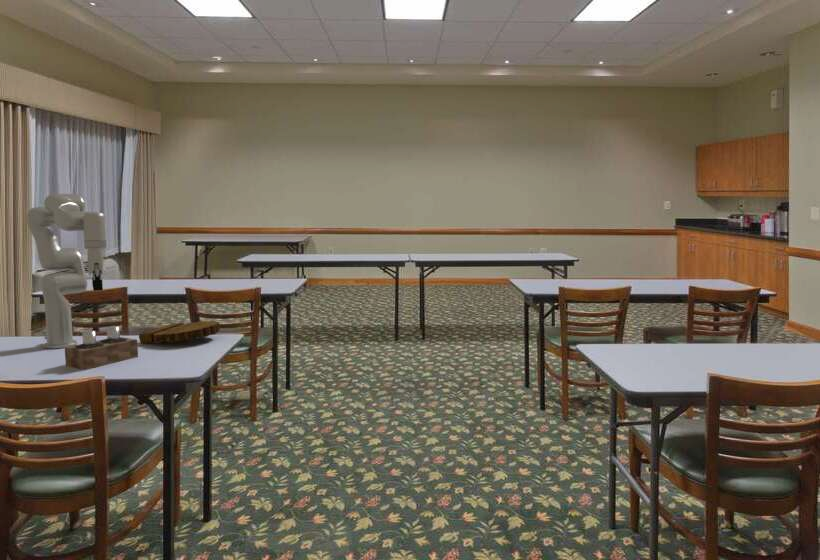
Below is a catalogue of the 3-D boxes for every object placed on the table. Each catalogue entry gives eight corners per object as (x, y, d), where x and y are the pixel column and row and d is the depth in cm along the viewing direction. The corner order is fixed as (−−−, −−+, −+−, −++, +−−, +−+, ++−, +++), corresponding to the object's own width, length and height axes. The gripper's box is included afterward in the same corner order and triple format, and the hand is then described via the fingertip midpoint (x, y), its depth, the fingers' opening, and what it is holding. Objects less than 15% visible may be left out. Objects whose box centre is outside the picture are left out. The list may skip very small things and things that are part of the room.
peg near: (81, 351, 221) (79, 332, 220) (91, 349, 225) (90, 330, 224) (88, 353, 219) (87, 333, 218) (99, 350, 223) (98, 331, 222)
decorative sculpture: (136, 350, 254) (197, 345, 247) (133, 335, 253) (195, 330, 247) (176, 335, 283) (232, 331, 276) (174, 322, 282) (230, 317, 276)
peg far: (105, 346, 230) (104, 327, 229) (115, 344, 234) (114, 325, 233) (112, 347, 228) (111, 328, 227) (122, 345, 232) (121, 326, 231)
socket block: (65, 365, 220) (64, 346, 219) (118, 353, 240) (117, 335, 239) (85, 369, 215) (84, 349, 214) (138, 356, 234) (137, 338, 233)
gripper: (83, 243, 230) (86, 286, 232) (84, 246, 215) (86, 292, 217) (105, 243, 233) (107, 285, 236) (107, 246, 218) (109, 291, 221)
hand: (97, 288), depth 226 cm, fingers open, 9 cm apart
